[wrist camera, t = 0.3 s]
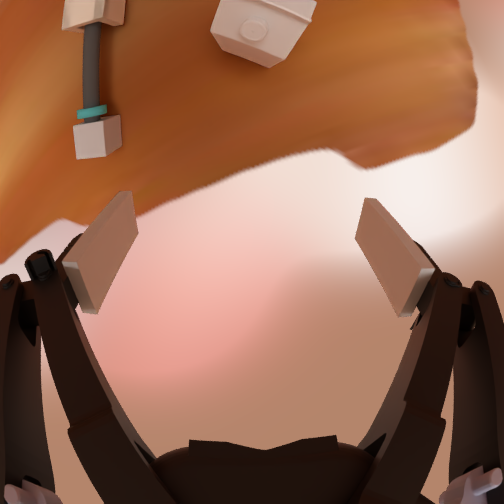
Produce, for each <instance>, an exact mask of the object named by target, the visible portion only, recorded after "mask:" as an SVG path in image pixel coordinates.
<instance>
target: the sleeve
mask: <svg viewBox="0 0 504 504" xmlns="http://www.w3.org/2000/svg"><path fill="white" fill-rule="evenodd" d="M125 2H126V0H65V5H64V12H63V21H62V30H65V31H72V32H78V33H84V28H85V25H87V24H91V23H94V22H98V21H99V22H102V23H106V24H109V25H112V26H118V25H123V22H124V11H125Z"/></svg>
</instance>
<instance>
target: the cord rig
mask: <svg viewBox="0 0 504 504" xmlns="http://www.w3.org/2000/svg"><path fill="white" fill-rule="evenodd" d="M101 23H102V22H99V21H98V22H94V23H91V24H87V25H85V28H84V43H83V108H84V109H80V110H77V119H82V118H84V122H82V123H80V124H77V125H74V126H73V131H74V141H75V149H76V157H77V159H86V158H95V157H105V156H107V155H109V154H110V153H112V152H113V151H115V150H116V149H118V148H120V147H121V146H122V136H121V119H120V115H114V116H107V117H100V115H101V114H105V113H107V104H106V105H100V95H99V58H100V36H101Z"/></svg>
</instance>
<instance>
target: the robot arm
mask: <svg viewBox="0 0 504 504" xmlns="http://www.w3.org/2000/svg"><path fill="white" fill-rule="evenodd" d="M137 235H138V229H137V223H136V217H135V211H134V204H133V197H132V191H119V192H118V194H117V195H116V196H115V197H114V198H113V199H112V200H111V201H110V202H109V204H108V205H107V206H106V207H105V208H104V209H103V210H102V211H101V213H100V214H99V215H98V216H97V217H96V219H95V220H94V221H93V222H92V223H91V224H90V226H89V227H88V228H87V229H86V231H85V232H84V233H81V234H79V235H78V236H76V237H75V238H73V239H72V241H71V242H70V243H69V244H68V247H66V248H65V249H64V252H62V253H61V255H60V256H59V257H58V259H57V260H56V261H54V259H53V256H52V253H51V251H50V250H47V249H42V250H39V251H36V252H34V253H33V254H31V255H30V256H29V257H28V258H27V259H26V261H25V264H24V265H25V267H26V269H27V272H28V274H29V276H30V278H31V281H26V282H21V280H20V278H19V276H18V275H17V274H10V275H7V276H5V277H3V278H2V280H1V281H0V504H63V503H62V502H61V500H60V499H59V497H58V496H57V495H56V494H55V484H54V477H53V471H52V465H51V460H50V455H49V450H48V444H47V438H46V432H45V423H44V416H43V405H42V391H41V336H42V341H43V345H44V348H45V353H46V356H47V360H48V363H49V367H50V370H51V373H52V377H53V380H54V383H55V386H56V389H57V392H58V395H59V397H60V400H61V403H62V405H63V408H64V411H65V413H66V416H67V418H68V420H69V423H70V428H69V429H68V435H69V438H70V441H71V443H72V445H73V448H74V450H75V452H76V454H77V456H78V458H79V460H80V462H81V464H82V465H83V468H84V470H85V471H86V473H87V475H88V477H89V479H90V480H91V482H92V484H93V486H94V487H95V489H96V491H97V492H98V494H99V496H100V497H101V499H102V500H103V502H104V504H435V503H433V502H432V501H431V500H429V499H428V498H426V497H425V496H423V495H422V494H421V493H420V492H421V490H422V488H423V486H424V483H425V481H426V479H427V477H428V474H429V472H430V469H431V467H432V464H433V462H434V459H435V457H436V454H437V451H438V448H439V446H440V443H441V440H442V437H443V433H444V430H445V425H446V420H445V419H443V418H441V412H442V408H443V405H444V401H445V398H446V394H447V390H448V385H449V381H450V377H451V372H452V367H453V374H454V413H453V431H452V442H451V452H450V462H449V486H448V487H447V490H446V491H444V492H443V493H442V494H441V495H440V498H439V503H440V504H504V323H503V319H502V316H501V313H500V309H499V306H498V303H497V300H496V297H495V295H494V292H493V290H492V289H491V288H490V286H489V285H488V284H486V283H485V282H482V281H475V282H474V284H473V286H472V288H471V289H470V288H466V287H462V283H461V282H460V280H459V279H458V278H457V277H455V276H454V275H452V274H450V273H446V272H443V273H442V271H441V270H440V269H439V267H438V266H437V265H436V263H435V262H434V261H433V260H432V258H430V256H429V255H428V253H426V251H425V250H424V249H423V247H422V246H421V245H420V244H418V243H417V242H415V241H414V240H412V239H411V237H410V236H409V235H408V234H407V233H406V231H405V230H404V229H403V228H402V227H401V226H400V225H399V223H398V222H397V221H396V220H395V219H394V218H393V217H392V216H391V214H390V213H389V212H388V211H387V210H386V209H385V208H384V207H383V206H382V204H381V203H380V202H379V201H378V200H377V199H373V198H365V199H364V204H363V208H362V212H361V216H360V220H359V224H358V228H357V232H356V236H355V240H356V241H357V243H358V244H359V246H360V248H361V250H362V251H363V253H364V255H365V257H366V258H367V260H368V262H369V264H370V265H371V267H372V269H373V271H374V272H375V274H376V276H377V278H378V280H379V282H380V283H381V285H382V287H383V289H384V291H385V293H386V294H387V297H388V298H389V300H390V302H391V304H392V306H393V308H394V310H395V312H396V314H397V316H398V317H407V316H411V315H412V313H413V312H414V310H415V308H416V306H417V308H418V310H419V311H420V313H419V315H418V316H417V318H416V320H415V322H414V323H413V325H412V327H411V328H410V329H411V330H412V329H413V330H412V333H411V336H410V339H409V342H408V345H407V347H406V350H405V353H404V355H403V358H402V360H401V363H400V365H399V368H398V371H397V373H396V375H395V377H394V380H393V382H392V384H391V387H390V389H389V391H388V393H387V395H386V398H385V400H384V402H383V404H382V406H381V408H380V410H379V412H378V414H377V416H376V418H375V420H374V422H373V424H372V425H371V427H370V429H369V431H368V433H367V434H366V436H365V437H364V438H363V440H362V441H361V442H360V443H359V445H358V446H357V447H355V446H353V445H349V444H345V443H339V442H337V437H336V435H333V436H326V437H318V438H308V439H301V440H298V441H295V442H292V443H289V444H286V445H282V446H279V447H276V448H272V449H269V450H260V449H255V448H250V447H245V446H241V445H237V444H232V443H229V442H218V441H199V440H189V447H184V448H180V449H176V450H173V451H170V452H168V453H166V454H164V455H162V456H160V457H159V458H156V457H155V456H154V454H153V453H152V452H151V450H150V449H149V448H148V447H147V445H146V444H145V443H144V441H143V440H142V439H141V437H140V436H139V434H138V433H137V431H136V430H135V428H134V427H133V425H132V423H131V422H130V420H129V419H128V417H127V415H126V414H125V412H124V410H123V409H122V407H121V405H120V403H119V402H118V400H117V398H116V396H115V395H114V393H113V391H112V389H111V387H110V385H109V383H108V382H107V380H106V378H105V376H104V374H103V372H102V370H101V368H100V366H99V363H98V361H97V359H96V358H95V355H94V353H93V351H92V348H91V346H90V344H89V342H88V339H87V337H86V334H85V332H84V330H83V327H82V325H81V322H80V320H79V317H78V315H77V312H76V310H75V308H76V307H77V305H78V303H79V305H80V307H81V309H82V311H83V313H90V314H98V312H99V309H100V307H101V305H102V303H103V301H104V299H105V296H106V294H107V292H108V290H109V288H110V286H111V284H112V282H113V280H114V278H115V276H116V274H117V272H118V270H119V268H120V266H121V264H122V262H123V260H124V259H125V257H126V255H127V253H128V251H129V249H130V248H131V246H132V244H133V242H134V240H135V238H136V237H137ZM474 327H475V328H474Z"/></svg>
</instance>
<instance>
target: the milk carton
mask: <svg viewBox="0 0 504 504" xmlns="http://www.w3.org/2000/svg"><path fill="white" fill-rule="evenodd" d="M316 3H317V2H315V1H313V0H221V1H220V4H219V6H218V9H217V12H216V15H215V17H214V20H213V23H212V26H211V29H210V32H211V33H212V35H213V37H214V38H215V40H216V41H217V43H218V44H219V46H220V48H221V49H222V50H223V51H226V52H228V53H231V54H234V55H237V56H239V57H242V58H245V59H247V60H250V61H252V62H255V63H257V64H260V65H262V66H265V67H267V68H271V67H272V66H274V65H276V64H278V63H280V62H281V61H283V60H285V59H286V58H287V56H288V54H289V53H290V51H291V50H292V48H293V47H294V45H295V44H296V42H297V40H298V39H299V37H300V36H301V34H302V33H303V31H304V30H305V28H306V27H307V25H308V24H309V23H311V21H312V20H311V16H312V14H313V11H314V9H315V6H316Z"/></svg>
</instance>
